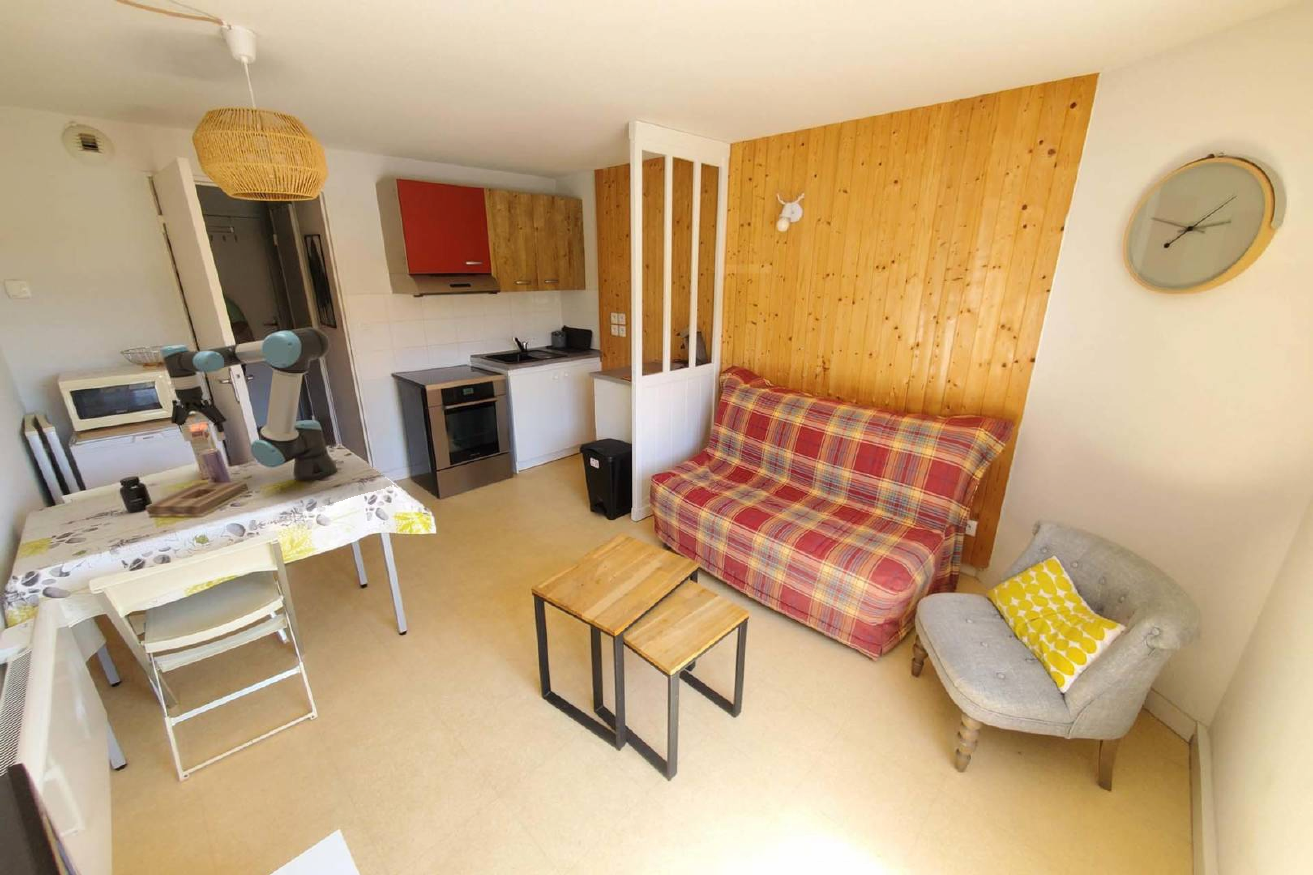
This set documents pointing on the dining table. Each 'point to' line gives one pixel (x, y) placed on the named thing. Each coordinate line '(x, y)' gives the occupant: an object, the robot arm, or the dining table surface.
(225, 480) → the beverage can
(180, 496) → the socket block
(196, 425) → the cracker box
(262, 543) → the dining table surface
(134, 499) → the supplement bottle
